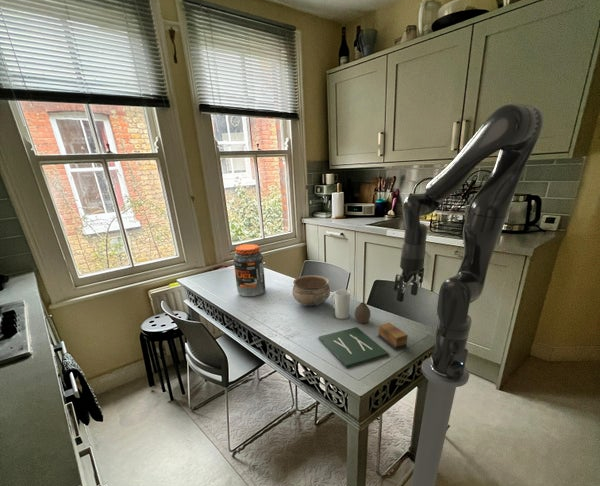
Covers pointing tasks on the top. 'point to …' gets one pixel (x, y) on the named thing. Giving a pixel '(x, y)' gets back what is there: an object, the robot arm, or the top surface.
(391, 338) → the eraser
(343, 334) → the slate board
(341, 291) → the mug
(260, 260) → the supplement tub
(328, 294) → the cooking pot
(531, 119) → the robot arm
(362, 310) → the vase
